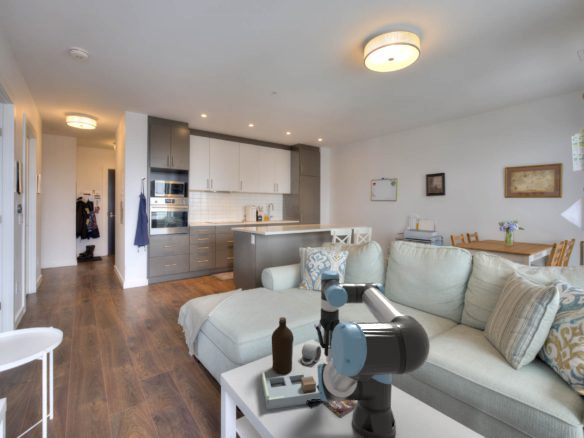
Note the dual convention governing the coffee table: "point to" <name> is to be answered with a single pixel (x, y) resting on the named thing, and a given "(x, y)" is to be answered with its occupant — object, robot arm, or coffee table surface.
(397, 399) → the coffee table surface
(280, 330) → the olive oil
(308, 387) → the brown block
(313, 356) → the ceramic mug
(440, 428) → the coffee table surface
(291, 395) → the board
